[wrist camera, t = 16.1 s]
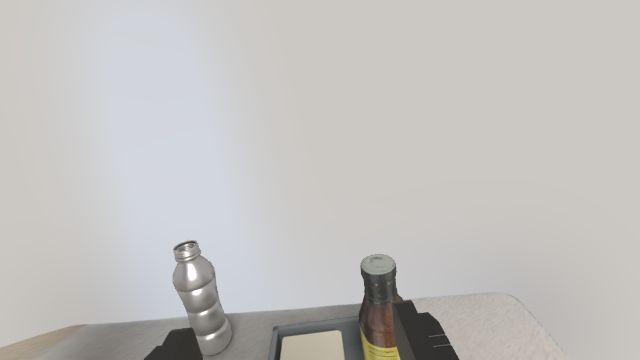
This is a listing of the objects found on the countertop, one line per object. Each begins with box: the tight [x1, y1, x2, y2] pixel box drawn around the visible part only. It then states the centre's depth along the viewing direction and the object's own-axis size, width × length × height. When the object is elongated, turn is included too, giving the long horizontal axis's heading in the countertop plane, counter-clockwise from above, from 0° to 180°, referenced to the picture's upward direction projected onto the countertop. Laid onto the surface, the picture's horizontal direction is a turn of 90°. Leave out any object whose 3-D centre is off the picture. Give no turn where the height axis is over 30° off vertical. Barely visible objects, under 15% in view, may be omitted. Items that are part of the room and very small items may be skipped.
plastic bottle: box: [173, 240, 232, 356], centre depth 50 cm, size 6×7×20 cm
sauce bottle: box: [359, 254, 403, 360], centre depth 38 cm, size 6×6×20 cm
